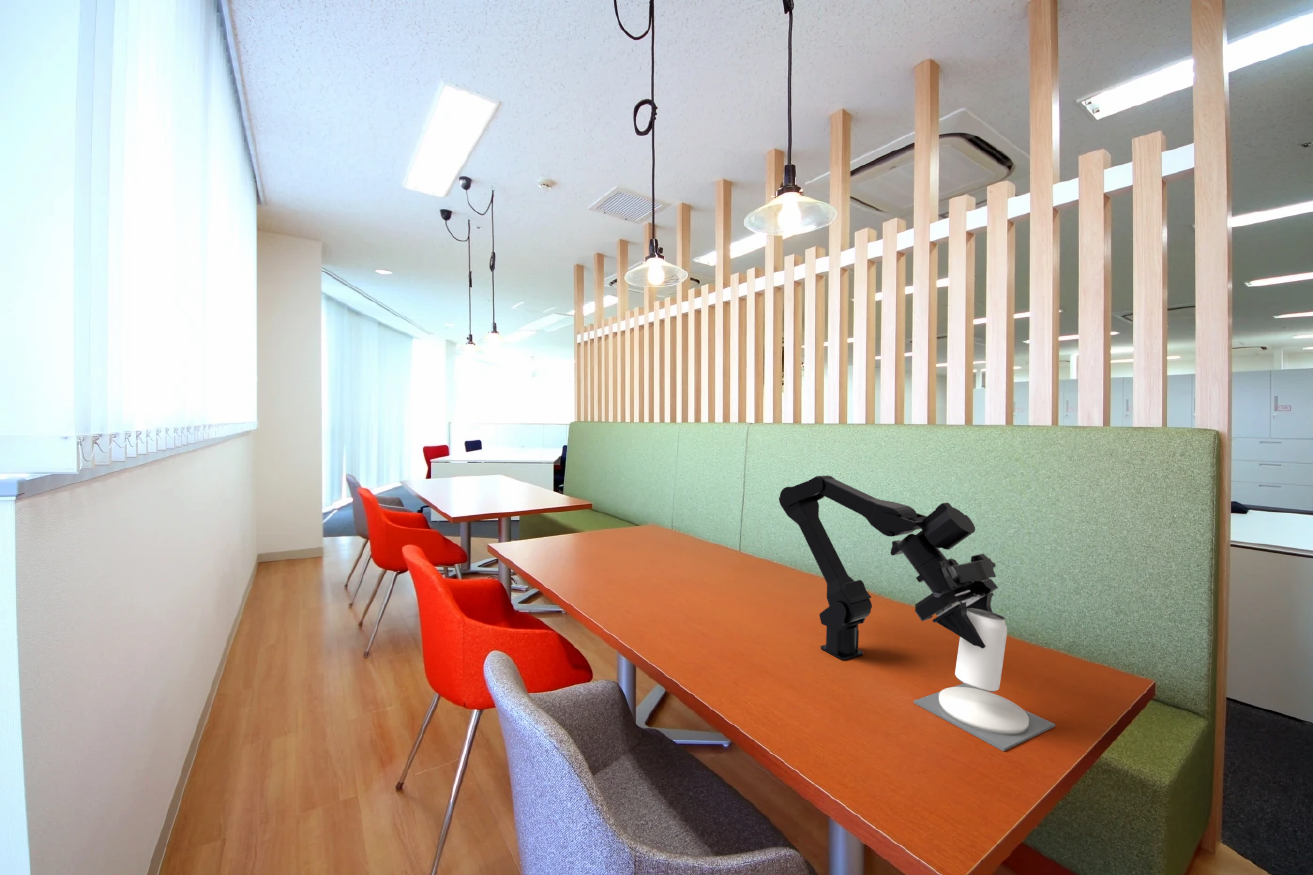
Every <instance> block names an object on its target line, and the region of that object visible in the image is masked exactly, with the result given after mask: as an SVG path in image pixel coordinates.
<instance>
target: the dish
mask: <svg viewBox="0 0 1313 875" xmlns="http://www.w3.org/2000/svg"><path fill="white" fill-rule="evenodd" d="M913 704H915V705H917V706H918V707H921V708H923V709H925V710H926V711H927V712H929V713H931V714H933V715H935V716H937V717H939V718H941V719H943V720H944V721H947V722H948V723H950V724H952V725H953V726H956V727H958V728H959V729H962V730H963V731H965V732H966V733H969V734H970V735H971V736H972V735H973V736H974V737H975V738H978V739H980V740H982V741H984V742H985V743H987V744H989V745H990V746H993V747H994V748H997V749H998V750H1000V751H1002V752H1005V751H1007V750H1009V749H1011V748H1013V747H1015V746H1018V745H1019V744H1022V743H1024V742H1026V741H1028V740H1030V739H1032V738H1034V737H1036V736H1039V735H1040V734H1042V733H1044V732H1046V731H1048V730H1050V729H1053V728H1055V727H1056V723H1053V721H1050V720H1047V719H1045V718H1043V717H1040V716H1039V715H1037V714H1034V713H1032V712H1029V711H1028V710H1025V709H1023V708H1022V707H1021V706H1019V705H1017V704H1016V703H1014V702H1013V701H1011V700H1010V699H1007V698H1006V697H1003V696H1001V695H998V694H996V693H994V692H988V691H983V690H979V689H976V688H973V687H971V686H968V685H966V684H964V683H961V684H957V685H955V686H951V687H946V688H943V689H942V690H940V691H937V692H935V693H932V694H929V695H927V696H923V697H920V698H917V699H914V700H913Z"/></svg>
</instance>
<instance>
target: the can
mask: <svg viewBox="0 0 1313 875" xmlns="http://www.w3.org/2000/svg"><path fill="white" fill-rule="evenodd" d="M992 612H993V611H992ZM992 612H989V611H985V610H981V609H975V608H967V612H966V614H967V616H968V618H969V619H970V621H971V622H972V624H973V626H974V627H975V629H976V631H977V632H978V634H979V636H980V638H981V640H982V641H983V643H984V644H985V646H986V647H985V648H983V649H982V648H981V647H979V646H974V645H972V644H971V643H969V642H968V641H966V640H965V639H963V638H962V637H960V636H959V643H958V649H957V654H956V655H957V657H956V663H955V664H956V665H955V671H954V676H955V677H956V679H957V680H958V681H959V682H961V684H963V683H964V684H966V685H968V686H971V687H973V688H976V689H979V690H983V691H987V692H990V693H994V692H997V691H998V690H999V689H1000V685H1001V679H1002V672H1003V664H1004V657H1005V651H1006V643H1007V634H1008V627H1007V623H1006V617H1004V616H1003V615H1002V614H1001V615H1000V614H998V613H995V612H993V613H992Z"/></svg>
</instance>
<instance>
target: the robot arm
mask: <svg viewBox="0 0 1313 875" xmlns="http://www.w3.org/2000/svg"><path fill="white" fill-rule="evenodd" d="M824 498H827V499H829V500H831V501H833V502H835V503H837V504H839V505H841V506H843V507H845V508H847V509H849V510H851V511H853V512H855V513H856V514H859V515H860V516H862V517H863V518H865V519H866V520H867V522H868V524H870V526H871V527H873V528H874V529H876V530H877V531H879V532H878V533H881V535H884V536H886V537H889V538H890V537H898V536H903V535H906V536H904V538H902V539H901V540H898V539H897V540H892V542H891V548H890V555H891V556H898V555H904V556H905V558H906V559H907V560H908V563H910V565H911V566H912V567H913V569H914V570H915V572H916V573H917V576H916V577H915V579H916V581H917V582H918V583H922V582H923V583H925V585H926V586H927V587H928V589H929V590H930V592H931V593H930V594H929V595H927V596H925V598H923V599H921V600H920V601H918V602H917V603H915V604H914V605H915V606H914V608H915V609H914V612H915V613H916V615H917V617H918V618H919V620H920V621H921V622H924V621H927V620H930V619H932V618H933V615H936V616H937V617H935V618H934V619H932V621H931V622H933V624H935V623H936V624H938V625H939V626H942V627H944V628H945V629H947V630H948V631H950V632H952V633H954V634H956V635H957V636H959V638H960V637H962V638H963V639H965V640H966V641H968V642H969V643H971V644H972V645H974V646H979V647H981V648H982V649H983V648H985V647H986V646H985V644H984V643H983V641H982V640H981V638H980V636H979V634H978V632H977V631H976V629H975V627H974V626H973V624H972V622H971V621H970V619H969V618H968V616H967V614H966V612H967V608H975V609H981V610H985V611H989V612H992V613H994V612H993V609H992V606H991V604H992V599H993V597H994V596H995V595H994V591H996V590H997V589H999V587H998V586H997V584H996V583H995V582H994V581H993V579H992V578H996V577H997V575H996V573H995V571H994V569H995V568H996V563H995V562H993V561H992V560H991V557H990V558H989V557H988V556H987V555H986V554H985V553H980V554H975V555H972V556H971V557H970V562H964V563H960V564H959V563H958V562H957V560H955V559H954V558H947V557H946V555H944V554H943V552H942V551H941V548H942V549H943V550H947V551H949V550H952V549H953V548H954V547H955V546H957V545H958V544H960V543H961V542H963V541H964V540H965V539H967V538H968V537H969V536H971V535H972V534H974V533H975V532H976V526H975V523H973V520H971V518H970V517H969V516H968V515H967V514H965V513H963V512H962V511H961V510H959V509H958V508H955V507H953V506H952V505H951V504H950V503H949V502H942V503H940V504H939V505H938V506H937V507H936V508H935V510H933V511H932V512H931V513H930V514H928V515H924V514H921V513H918V512H917V511H916V510H915V509H914V508H913V507H912V506H910V505H906V504H903V503H899V502H895V501H890V500H884V499H880V498H876V497H874V496H872V495H870V494H868V493H865V492H864V491H861V490H859V489H857V488H855V487H852V486H851V485H848V484H846V483H844V482H842V481H840V480H838V479H836V478H835V477H833V476H832V475H817V476H816V475H815V477H813V478H811V479H809V480H807V481H804V482H801V483H799V484H796V485H793V486H786V487H783V488H782V489H781V490H780V494H779V497H778V502H779V504H780V506H781V508H782V510H783V511H784V513H785V514H786V515H787V517H788V518H789V519H791V520H792V521H793V522H794V523H796V524H797V525H798V528H799V529H800V532H801V533H802V535H803V537H804V539H805V542H806V543H807V545H808V547H809V549H810V551H811V553H812V555H813V558H814V560H815V562H816V564H817V566H818V568H819V570H820V573H821V575H822V576H823V579H824V580H825V583H826V601H827V603H828V607H827V608H825V609H824V610H822V611H821V612H820V613H819V619H820V623H821V625H823V626H826V631H825V632H826V634H825V636H826V638H825V639H826V640H825V644H823V645H820V650H823V651H825V652H826V653H828V654H830V655H831V656H834V657H836V658H838V659H839V660H843V661H844V660H848V659H851V658H852V659H853V658H856V657H860V656H863V655H864V651H862V650H861V649H859V637H860V636H859V635H860V631H859V625H861V624H862V625H863V624H864V623H865V620H866V618H867V617H870V616H869V615H870V614H871V612H872V608H873V604H872V601H871V598H872V596H871V594H870V593H869V592H868V591H867V588H866V586H865V584H864V582H863V581H862V580H861V579H859V580H854V579H853V578H852V577H851V576H850V575H849V574H848V572H847V570H846V569H845V567H844V565H843V563H842V561H841V559H840V556H839V555H838V552H837V551H836V548H835V546H834V545H833V542H832V541H831V539H830V536H829V535H828V533H827V531H826V529H825V526H824V525H823V523H822V521H821V519H820V515H819V514H820V504H819V501H820V500H822V499H824ZM916 530H920V531H919V532H918V533H914V531H916Z"/></svg>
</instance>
